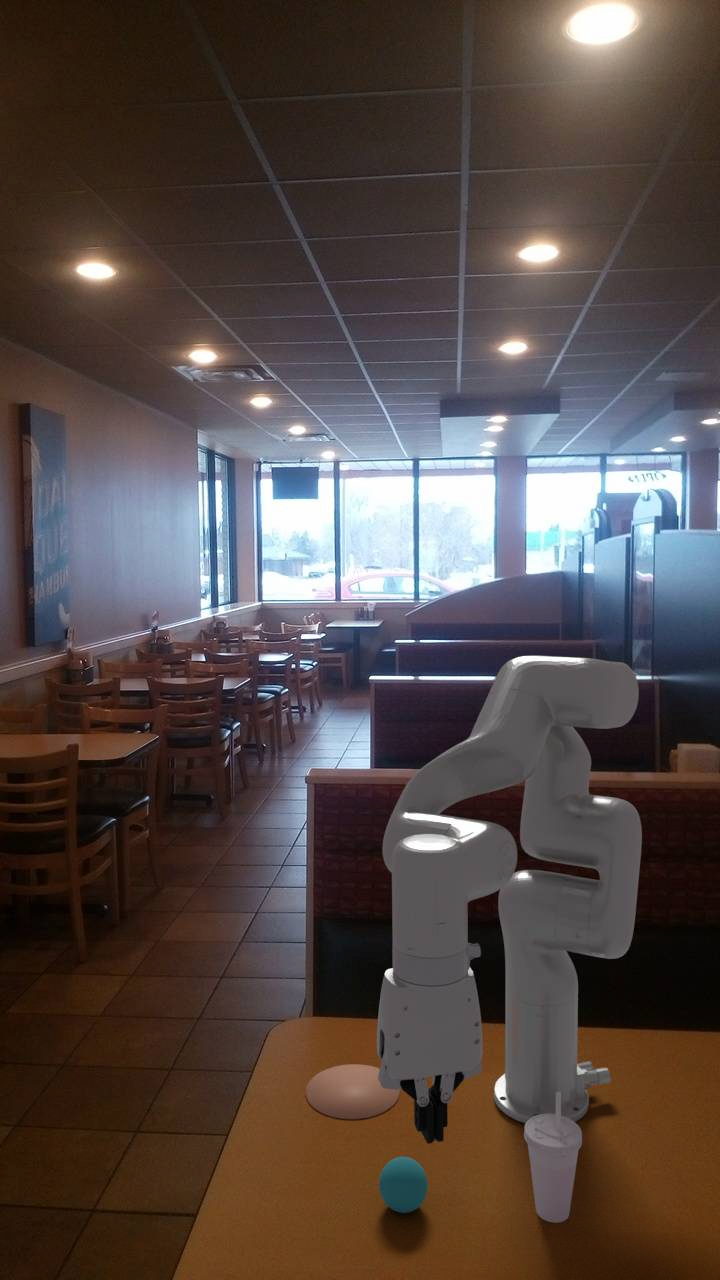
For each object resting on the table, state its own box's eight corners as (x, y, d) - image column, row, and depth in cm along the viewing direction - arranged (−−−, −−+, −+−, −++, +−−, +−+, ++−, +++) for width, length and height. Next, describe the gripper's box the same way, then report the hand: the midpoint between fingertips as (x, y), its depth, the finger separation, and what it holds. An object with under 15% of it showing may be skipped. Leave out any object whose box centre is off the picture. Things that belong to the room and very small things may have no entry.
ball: (419, 1187, 110) (418, 1142, 109) (434, 1219, 104) (434, 1172, 104) (373, 1195, 108) (373, 1150, 108) (386, 1228, 103) (386, 1181, 103)
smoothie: (582, 1235, 102) (583, 1112, 100) (522, 1227, 103) (523, 1106, 102) (580, 1195, 108) (581, 1079, 107) (524, 1188, 109) (524, 1074, 108)
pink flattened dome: (385, 1060, 137) (385, 1058, 137) (411, 1110, 125) (411, 1109, 125) (298, 1073, 134) (298, 1071, 134) (316, 1126, 122) (316, 1124, 122)
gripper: (485, 937, 99) (485, 1102, 101) (348, 954, 95) (350, 1125, 97) (514, 967, 92) (514, 1144, 94) (367, 986, 88) (369, 1170, 90)
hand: (430, 1134), depth 95 cm, fingers closed
